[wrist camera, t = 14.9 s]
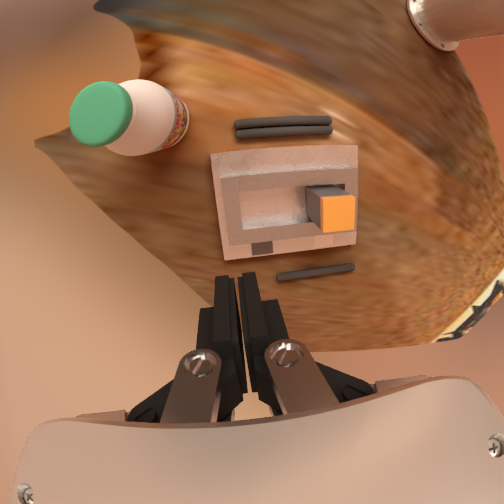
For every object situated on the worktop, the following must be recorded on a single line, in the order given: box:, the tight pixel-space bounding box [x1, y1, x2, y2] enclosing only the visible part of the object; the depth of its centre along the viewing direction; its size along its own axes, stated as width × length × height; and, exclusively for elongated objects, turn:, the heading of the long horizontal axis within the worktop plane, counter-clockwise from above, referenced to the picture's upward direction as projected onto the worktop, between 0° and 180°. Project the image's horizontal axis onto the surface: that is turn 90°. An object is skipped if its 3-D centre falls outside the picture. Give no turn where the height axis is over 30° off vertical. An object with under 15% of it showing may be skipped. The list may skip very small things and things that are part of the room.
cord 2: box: [276, 263, 355, 281], centre depth 42 cm, size 13×1×1 cm, turn 95°
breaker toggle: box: [306, 185, 355, 233], centre depth 33 cm, size 4×4×7 cm
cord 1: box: [234, 116, 333, 139], centre depth 33 cm, size 13×3×1 cm, turn 95°
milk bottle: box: [69, 80, 189, 156], centre depth 22 cm, size 8×8×20 cm
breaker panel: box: [210, 145, 358, 260], centre depth 36 cm, size 15×20×4 cm
